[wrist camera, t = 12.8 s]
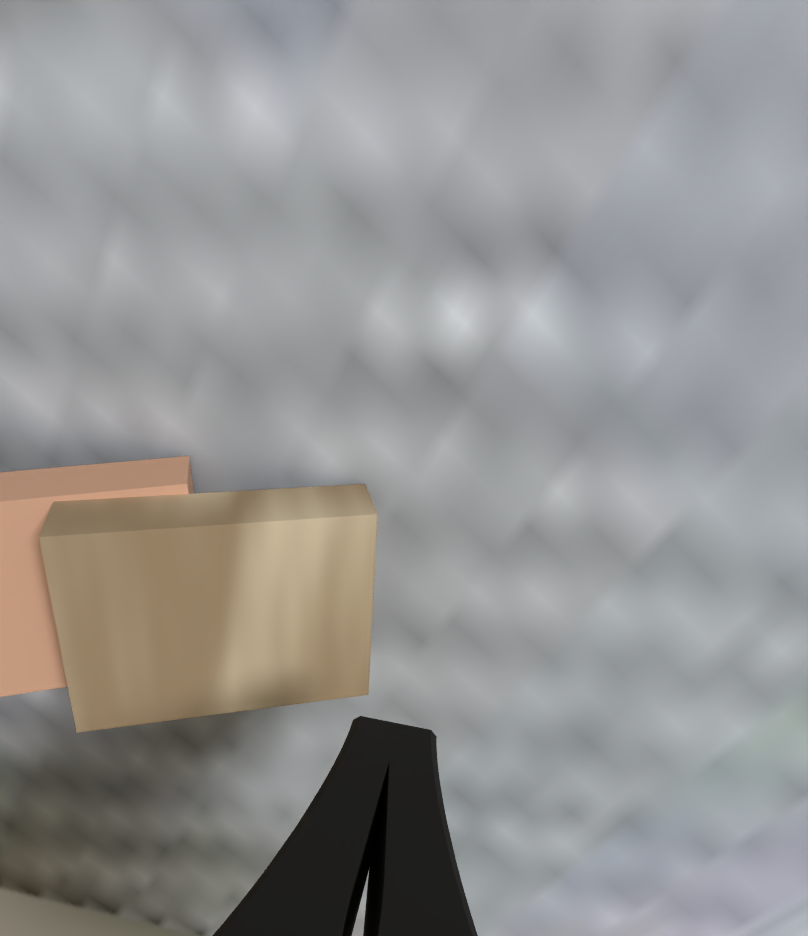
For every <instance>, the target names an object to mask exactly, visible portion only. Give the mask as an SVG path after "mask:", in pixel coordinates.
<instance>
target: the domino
mask: <svg viewBox="0 0 808 936" xmlns="http://www.w3.org/2000/svg"><path fill="white" fill-rule="evenodd" d="M177 494H194V488H193V481H192V474H191V466H190V459H189V456H183V457H172V458H160V459H149V460H137V461H126V462H114V463H103V464H92V465H80V466H69V467H57V468H46V469H34V470H23V471H11V472H0V697H2V696H9V695H15V694H22V693H29V692H35V691H42V690H48V689H55V688H62V687H68V685H67V680H66V675H65V670H64V665H63V660H62V654H61V649H60V644H59V639H58V634H57V629H56V623H55V618H54V613H53V608H52V603H51V598H50V592H49V587H48V582H47V577H46V572H45V567H44V561H43V556H42V551H41V546H40V541H39V535H40V533H41V531H42V528H43V526H44V523H45V521H46V518H47V516H48V514H49V511H50V509H51V506H52V504H53V502H54V501H71V500H89V499H107V498H124V497H142V496H160V495H177Z"/></svg>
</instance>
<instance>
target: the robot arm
mask: <svg viewBox="0 0 808 936" xmlns="http://www.w3.org/2000/svg"><path fill="white" fill-rule="evenodd" d="M368 871H369V878H368V889H367V900H366V911H365V923H364V934H363V936H478V935H477V932H476V929H475V926H474V923H473V920H472V917H471V913H470V910H469V906H468V903H467V899H466V896H465V893H464V889H463V886H462V882H461V878H460V875H459V871H458V867H457V863H456V859H455V855H454V851H453V846H452V842H451V838H450V833H449V829H448V825H447V820H446V815H445V810H444V804H443V798H442V792H441V786H440V780H439V772H438V763H437V750H436V736H435V734H434V733H433V732H432V731H431V730H428V729H423V728H418V727H413V726H408V725H403V724H398V723H393V722H388V721H383V720H378V719H373V718H368V717H363V716H360V717H358V718H356V719H354V720H353V722H352V725H351V728H350V731H349V733H348V736H347V738H346V740H345V742H344V745H343V747H342V749H341V751H340V753H339V755H338V757H337V759H336V761H335V763H334V765H333V767H332V768H331V770H330V772H329V774H328V776H327V777H326V779H325V781H324V783H323V784H322V786H321V788H320V789H319V791H318V793H317V794H316V796H315V797H314V799H313V801H312V802H311V804H310V806H309V807H308V809H307V810H306V812H305V814H304V815H303V817H302V818H301V820H300V822H299V823H298V825H297V826H296V828H295V829H294V830H293V832H292V833H291V835H290V836H289V838H288V839H287V840H286V842H285V843H284V845H283V846H282V847H281V849H280V850H279V852H278V853H277V855H276V856H275V857H274V859H273V860H272V862H271V863H270V865H269V866H268V867H267V869H266V870H265V871H264V873H263V874H262V875H261V877H260V878H259V879H258V881H257V882H256V883H255V884H254V886H253V887H252V888H251V890H250V891H249V892H248V893H247V895H246V896H245V897H244V899H243V900H242V901H241V902H240V903H239V905H238V906H237V907H236V908H235V910H234V911H233V912H232V913H231V915H230V916H229V917H228V918H227V919H226V921H225V922H224V923H223V924H222V925H221V927H220V928H219V929H218V930H217V931H216V932H215V933H214V935H213V936H351V935H352V932H353V928H354V924H355V920H356V916H357V913H358V909H359V905H360V901H361V897H362V894H363V890H364V886H365V882H366V878H367V875H368Z"/></svg>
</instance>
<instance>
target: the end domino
mask: <svg viewBox="0 0 808 936" xmlns="http://www.w3.org/2000/svg"><path fill="white" fill-rule="evenodd" d="M377 516H378V514H377V512H376V509H375V507H374V504H373V502H372V500H371V497H370V495H369V492H368V490H367V488H366V485H365V484H354V485H336V486H318V487H301V488H283V489H265V490H248V491H230V492H213V493H195V494H177V495H160V496H142V497H124V498H107V499H89V500H71V501H54V502H53V504H52V506H51V509H50V511H49V514H48V516H47V518H46V521H45V523H44V526H43V528H42V531H41V533H40V535H39V541H40V546H41V551H42V556H43V561H44V567H45V572H46V577H47V582H48V587H49V592H50V598H51V603H52V608H53V613H54V618H55V623H56V629H57V634H58V639H59V644H60V649H61V654H62V660H63V665H64V670H65V675H66V680H67V685H68V690H69V696H70V701H71V706H72V711H73V716H74V721H75V727H76V732H77V733H78V732H85V731H93V730H101V729H109V728H116V727H124V726H132V725H139V724H147V723H155V722H162V721H170V720H178V719H185V718H193V717H201V716H208V715H216V714H224V713H231V712H239V711H247V710H254V709H262V708H270V707H277V706H285V705H293V704H301V703H308V702H316V701H324V700H331V699H339V698H347V697H354V696H362V695H368V691H369V672H370V652H371V633H372V613H373V594H374V575H375V555H376V536H377Z"/></svg>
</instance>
